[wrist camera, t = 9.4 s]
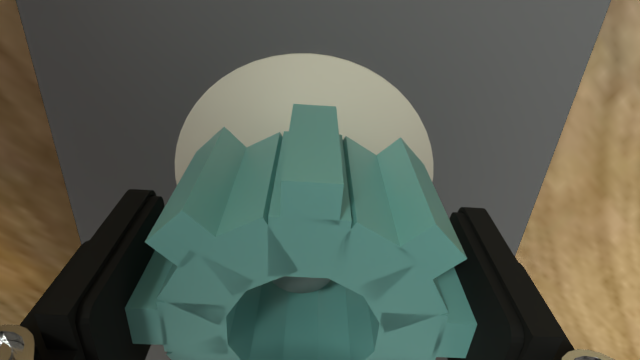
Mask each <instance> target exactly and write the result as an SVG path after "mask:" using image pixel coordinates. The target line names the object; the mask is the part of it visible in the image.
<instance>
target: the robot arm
mask: <svg viewBox="0 0 640 360" xmlns="http://www.w3.org/2000/svg"><path fill="white" fill-rule="evenodd" d="M163 209H164V200H163V198H162V197H161V196H156V193H155V191H153V190H140V189H129V190H128V191H126V193H125V194H124V195H123V197H122V198H121V199H120V201H119V202H118V203H117V205H116V206H115V207H114V209H113V210H112V211H111V213H110V214H109V215H108V217H107V218H106V219H105V220H104V222H103V223H102V224H101V226H100V227H99V228H98V230H97V231H96V232H95V234H94V235H93V236H92V238H91V239H90V240H88V241H86V242H84V243H83V244H82V245H81V246H80V248H79V249H78V250H77V252H76V253H75V254H74V255H73V257H72V258H71V259H70V261H69V262H68V263H67V265H66V266H65V267H64V268H63V270H62V271H61V272H60V274H59V275H58V276H57V277H56V279H55V280H54V281H53V283H52V284H51V285H50V287H49V288H48V289H47V290H46V292H45V293H44V294H43V296H42V297H41V298H40V300H39V301H38V302H37V303H36V305H35V306H34V307H33V309H32V310H31V311H30V312H29V314H28V315H27V316H26V318H25V319H24V320H23V322H22V323H21V324H20V325H0V360H145V359H146V356H147V354H148V351H149V349H150V346H151V344H133V342H132V338H131V333H130V329H129V324H128V320H127V315H126V311H125V307H126V305H127V303H128V301H129V299H130V297H131V295H132V293H133V292H134V290H135V288H136V286H137V284H138V282H139V280H140V278H141V276H142V274H143V272H144V271H145V269H146V267H147V265H148V263H149V261H150V259H151V257H152V255H153V253H154V251H155V249H153V248H152V247H151V246H149V245H148V244H146V243H145V240H146V239H147V237H148V235H149V233H150V232H151V230H152V228H153V226H154V225H155V223H156V221H157V219H158V218H159V216H160V214H161V213H162V211H163ZM449 220H450V222H451V224H452V226H453V229H454V231H455V233H456V235H457V237H458V239H459V242H460V244H461V246H462V248H463V250H464V252H465V255H466V257H467V259H466V260H465V261H463V262H461V263H459V264H458V265H456V266H454V268H455V271H456V273H457V276H458V278H459V281H460V283H461V286H462V288H463V291H464V293H465V295H466V298H467V300H468V303H469V305H470V308H471V310H472V313H473V315H474V318H475V320H476V323H477V327H476V330H475V332H474V335H473V338H472V341H471V344H470V347H469V350H468V352H467V355H466V358H449V357H447V359H448V360H615V359H612V358H610V357H608V356H606V355H604V354H602V353H598V352H595V351H591V350H581V349H577V350H574V348H573V346H572V345H571V343H570V341H569V340H568V338H567V337H566V335H565V333H564V332H563V330H562V329H561V327H560V325H559V324H558V322H557V320H556V319H555V317H554V316H553V314H552V312H551V311H550V309H549V307H548V306H547V304H546V303H545V301H544V299H543V298H542V296H541V295H540V293H539V291H538V290H537V288H536V286H535V285H534V283H533V282H532V280H531V278H530V277H529V275H528V273H527V272H526V270H525V269H524V267H523V266H522V265H521V264H520V263H518V261H517V260H516V258H515V256H514V255H513V253H512V251H511V250H510V248H509V246H508V245H507V243H506V242H505V240H504V238H503V237H502V235H501V233H500V232H499V230H498V228H497V227H496V225H495V224H494V222H493V220H492V219H491V217H490V215H489V214H488V212H487V211H486V209H484V208H472V207H461V208H460V209H459V210H458V212H453V213H452V214H451V216H450V219H449Z"/></svg>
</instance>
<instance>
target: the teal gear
mask: <svg viewBox="0 0 640 360" xmlns="http://www.w3.org/2000/svg"><path fill="white" fill-rule="evenodd" d="M145 243H146V244H148V245H149V246H151V247H152V248H153V249H155V251H154V253H153V255H152V257H151V259H150V261H149V263H148V265H147V267H146V269H145V271H144V272H143V274H142V276H141V278H140V280H139V282H138V284H137V286H136V288H135V290H134V292H133V293H132V295H131V297H130V299H129V301H128V303H127V305H126V307H125V311H126V315H127V320H128V324H129V329H130V333H131V338H132V342H133V344H153V345H164V351H165V352H167V354H166V355H167V356H168V357H169V358H170V359H171V360H435V359H436V357H449V358H466V355H467V352H468V350H469V347H470V344H471V341H472V338H473V335H474V332H475V330H476V327H477V323H476V320H475V318H474V315H473V313H472V310H471V308H470V305H469V303H468V300H467V298H466V295H465V293H464V291H463V288H462V286H461V283H460V281H459V278H458V276H457V273H456V271H455V268H454V266H456V265H458V264H459V263H461V262H463V261H465V260H466V259H467V257H466V255H465V252H464V250H463V248H462V246H461V244H460V242H459V239H458V237H457V235H456V233H455V231H454V229H453V226H452V224H451V222H450V220H449V218H448V215H447V213H446V211H445V209H444V207H443V205H442V202H441V200H440V198H439V196H438V194H437V192H436V189H435V187H434V185H433V183H432V181H431V179H430V176H429V174H428V172H427V170H426V168H425V165H424V164H423V163H422V162H421V160H420V159H419V158H418V157H417V156H416V155H415V153H414V152H413V151H412V150H411V149H410V148H409V146H408V145H407V144H406V143H405V142H404V140H403V139H402V138H401V137H400V138H399V139H398V140H396V141H395V142H394V143H392V144H391V145H390V146H388V147H387V148H386V149H384V150H383V151H381V152H380V153H379V154H377V155H375V154H374V153H372V152H371V151H369V150H367V149H366V148H364V147H363V146H361V145H359V144H358V143H356V142H355V141H353V140H352V139H350V138H348V137H347V136H345V138H344V139H342V135H339V130H338V120H337V109H336V106H320V105H305V104H293V109H292V115H291V121H290V128H289V131H284V133H283V136H282V135H281V133H280V132H279V133H276V134H274V135H272V136H270V137H268V138H266V139H264V140H261V141H259V142H257V143H255V144H253V145H251V146H249V147H246V146H244V145H243V144H242V143H241V142H240V141H239V140H238V139H237V138H236V137H235V136H234V135H233V134H232V133H231V132H230V131H229V130H228V129H226V128H225V127H223V128H222V129H221V130H220V131H219V132H218V133H216V134H215V135H214V136H213V137H212V138H211V139H210V140H209V141H208V142H206V143H205V144H204V145H203V146H202V147H201V148H200V149H199V150H198V151H197V152H196V153H195V155H194V157H193V159H192V160H191V162H190V164H189V165H188V167H187V169H186V171H185V172H184V174H183V176H182V178H181V179H180V181H179V183H178V185H177V186H176V188H175V190H174V192H173V193H172V195H171V197H170V199H169V200H168V202H167V204H166V206H165V207H164V209H163V211H162V213H161V214H160V216H159V218H158V219H157V221H156V223H155V225H154V226H153V228H152V230H151V232H150V233H149V235H148V237H147V239H146V240H145ZM284 276H289V277H309V278H328V279H330V281H329V283H328V284H327V285H325V286H324V287H323V288H321V289H319V290H317V291H314V292H310V293H292V292H288V291H285V290H283V289H281V288H279V287H278V286H276V285H275V284H274V283H273V282H272V281H273V280H276V279H278V278H281V277H284Z"/></svg>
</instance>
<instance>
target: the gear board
mask: <svg viewBox="0 0 640 360" xmlns="http://www.w3.org/2000/svg"><path fill="white" fill-rule="evenodd" d="M610 2H611V0H16V3H17V7H18V10H19V14H20V18H21V21H22V25H23V29H24V33H25V36H26V40H27V44H28V47H29V51H30V55H31V59H32V62H33V66H34V70H35V73H36V77H37V81H38V85H39V88H40V92H41V96H42V99H43V103H44V107H45V111H46V114H47V118H48V122H49V125H50V129H51V133H52V137H53V140H54V144H55V148H56V152H57V155H58V159H59V163H60V166H61V170H62V174H63V178H64V181H65V185H66V189H67V192H68V196H69V200H70V204H71V207H72V211H73V215H74V218H75V222H76V226H77V230H78V233H79V237H80V241H81V244H83V243H84V242H86V241H88V240H90V239H91V238H92V236H93V235H94V234H95V232H96V231H97V230H98V228H99V227H100V226H101V224H102V223H103V222H104V220H105V219H106V218H107V217H108V215H109V214H110V213H111V211H112V210H113V209H114V207H115V206H116V205H117V203H118V202H119V201H120V199H121V198H122V197H123V195H124V194H125V193H126V191H128V190H129V189H140V190H153V191H155V193H156V196H161V197H162V198H163V200H164V207H165V206H166V204H167V202H168V200H169V199H170V197H171V195H172V193H173V192H174V190H175V188H176V186H177V185H178V183H179V181H180V179H181V178H182V176H183V174H184V172H185V171H186V169H187V167H188V165H189V164H190V162H191V160H192V159H193V157H194V155H195V153H196V152H197V151H198V150H199V149H200V148H201V147H202V146H203V145H204V144H205V143H206V142H208V141H209V140H210V139H211V138H212V137H213V136H214V135H215V134H216V133H218V132H219V131H220V130H221V129H222V128H223V127H225V128H226V129H228V130H229V131H230V132H231V133H232V134H233V135H234V136H235V137H236V138H237V139H238V140H239V141H240V142H241V143H242V144H243V145H244V146H246V147H249V146H251V145H253V144H255V143H257V142H259V141H261V140H264V139H266V138H268V137H270V136H272V135H274V134H276V133H279V132H280V133H281V135H282V136H283V133H284V131H289V128H290V121H291V115H292V109H293V104H305V105H320V106H336V109H337V120H338V130H339V135H342V139H344V138H345V136H347V137H348V138H350V139H352V140H353V141H355V142H356V143H358V144H359V145H361V146H363V147H364V148H366V149H367V150H369V151H371V152H372V153H374V154H375V155H377V154H379V153H380V152H381V151H383V150H384V149H386V148H387V147H388V146H390V145H391V144H392V143H394V142H395V141H396V140H398V139H399V138H400V137H401V138H402V139H403V140H404V142H405V143H406V144H407V145H408V146H409V148H410V149H411V150H412V151H413V152H414V153H415V155H416V156H417V157H418V158H419V159H420V160H421V162H422V163H423V164H424V165H425V168H426V170H427V172H428V174H429V176H430V179H431V181H432V183H433V185H434V187H435V189H436V192H437V194H438V196H439V198H440V200H441V202H442V205H443V207H444V209H445V211H446V213H447V215H448V218H449V219H450V216H451V214H452V213H453V212H458V210H459V209H460V208H461V207H472V208H484V209H486V211H487V212H488V214H489V215H490V217H491V219H492V220H493V222H494V224H495V225H496V227H497V228H498V230H499V232H500V233H501V235H502V237H503V238H504V240H505V242H506V243H507V245H508V246H509V248H510V250H511V251H512V253H513V255H514V256H515V255H516V252H517V250H518V247H519V244H520V242H521V239H522V236H523V234H524V231H525V228H526V226H527V223H528V220H529V218H530V215H531V212H532V210H533V207H534V204H535V202H536V199H537V196H538V194H539V191H540V188H541V186H542V183H543V180H544V178H545V175H546V172H547V170H548V167H549V164H550V162H551V159H552V156H553V154H554V151H555V148H556V146H557V143H558V140H559V138H560V135H561V132H562V130H563V127H564V124H565V122H566V119H567V116H568V114H569V111H570V108H571V106H572V103H573V100H574V98H575V95H576V92H577V90H578V87H579V84H580V82H581V79H582V76H583V74H584V71H585V68H586V66H587V63H588V60H589V58H590V55H591V52H592V50H593V47H594V44H595V42H596V39H597V36H598V34H599V31H600V28H601V26H602V23H603V20H604V18H605V15H606V12H607V10H608V7H609V4H610ZM329 281H330V279H328V278H309V277H289V276H284V277H281V278H278V279H276V280H273V281H272V282H273V283H274V284H275V285H276V286H278V287H279V288H281V289H283V290H285V291H288V292H292V293H310V292H314V291H317V290H319V289H321V288H323V287H324V286H325V285H327V284H328V283H329ZM166 354H167V352H165V351H164V345H153V344H151V346H150V349H149V351H148V354H147V356H146V359H145V360H171V359H170V358H169V357H168V356H167V355H166ZM435 360H448V359H447V357H436V359H435Z"/></svg>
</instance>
